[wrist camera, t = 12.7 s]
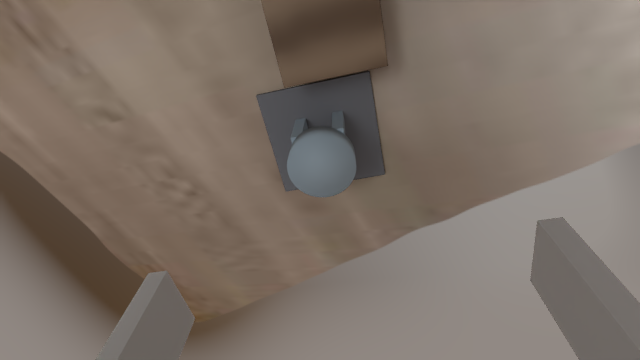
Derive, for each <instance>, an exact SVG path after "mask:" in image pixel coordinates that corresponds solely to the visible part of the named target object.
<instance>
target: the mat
mask: <svg viewBox="0 0 640 360" xmlns="http://www.w3.org/2000/svg"><path fill="white" fill-rule="evenodd" d="M256 97H257V100H258V103H259V106H260V110H261V113H262V116H263V119H264V123H265V126H266V129H267V132H268V135H269V139H270V142H271V145H272V148H273V152H274V155H275V158H276V161H277V164H278V168H279V171H280V174H281V177H282V181H283V184H284V187H285V190H286V191H291V190H297V189H298V188H297V187H296V186H295V185H294V184H293V183H292V181H291V179H290V178H289V175H288V171H287V160H288V156H289V152H290V149H291V146H292V142H291V134H292V131H293V127H294V124H295V120H298V119H303V118H306V122H307V126H308V129H309V128H312V127H317V126H327V127H332V113H333V112H338V111H343V116H344V123H345V135H346V136H347V137H348V138H349V139H350V141H351V143H352V144H353V147H354V150H355V158H356V174H355V177H354V179H353V180H355V179H361V178H367V177H373V176H379V175H384V174H385V172H384V165H383V159H382V152H381V145H380V139H379V132H378V126H377V119H376V112H375V106H374V99H373V92H372V86H371V79H370V73H369V71H366V72H362V73H357V74H352V75H347V76H343V77H338V78H333V79H329V80H324V81H319V82H315V83H310V84H305V85H301V86H296V87H291V88H287V89H282V90H277V91H273V92H268V93H263V94H258V95H256Z"/></svg>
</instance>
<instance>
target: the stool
mask: <svg viewBox="0 0 640 360" xmlns="http://www.w3.org/2000/svg"><path fill="white" fill-rule="evenodd" d="M291 142H292V146H291V149H290V152H289V156H288V160H287V171H288V175H289V178H290V179H291V181H292V183H293V184H294V185H295V186H296V187H297V188H298V189H299V190H301V191H302V192H304V193H306V194H308V195H311V196H315V197H330V196H334V195H336V194H339V193H341V192H342V191H344V190H345V189H346V188H347V187H348V186H349V185H350V184H351V182H352V181H353V179H354V177H355V174H356V158H355V150H354V147H353V144H352V143H351V141H350V139H349V138H348V137H347V136H346V135H345V123H344V116H343V111H338V112H333V113H332V127H327V126H317V127H312V128H309V129H308V126H307V122H306V118H303V119H298V120H295V124H294V127H293V131H292V134H291Z"/></svg>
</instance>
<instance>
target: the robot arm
mask: <svg viewBox="0 0 640 360" xmlns="http://www.w3.org/2000/svg"><path fill="white" fill-rule="evenodd" d="M531 282H532V284H533V285H534V287H535V289H536V290H537V292H538V293H539V295H540V297H541V298H542V300H543V302H544V303H545V305H546V306H547V308H548V310H549V311H550V313H551V314H552V316H553V318H554V320H555V321H556V323H557V325H558V326H559V328H560V329H561V331H562V332H563V334H564V336H565V338H566V339H567V341H568V342H569V344H570V346H571V347H572V349H573V351H574V352H575V354H576V355H577V357H578V359H579V360H640V303H639V302H638V301H637V299H636V298H635V297H634V296H633V295H632V294H631V293H630V292H629V291H628V290H627V288H626V287H625V286H624V285H623V284H622V283H621V282H620V281H619V279H618V278H617V277H616V276H615V275H614V274H613V273H612V272H611V270H610V269H609V268H608V267H607V266H606V265H605V264H604V263H603V262H602V260H600V258H599V257H598V256H597V255H596V254H595V253H594V252H593V250H592V249H591V248H590V247H589V246H588V245H587V244H586V243H585V242H584V240H583V239H582V238H581V237H580V236H579V235H578V234H577V233H576V232H575V230H574V229H573V228H572V227H571V226H570V225H569V224H568V223H567V222H566V221H565V219H564V218H563V217H561V218H554V219H547V220H539V221H537V228H536V237H535V245H534V254H533V262H532V271H531ZM194 320H195V317H194V316H193V314H192V312H191V311H190V309H189V307H188V306H187V304H186V302H185V300H184V299H183V297H182V295H181V294H180V292H179V290H178V289H177V287H176V285H175V284H174V282H173V280H172V279H171V277H170V275H169V273H168V272H167V271H162V272H155V273H148V275H147V277H146V278H145V280H144V281H143V283H142V285H141V286H140V288H139V290H138V291H137V293H136V295H135V296H134V298H133V299H132V301H131V303H130V304H129V306H128V308H127V310H126V311H125V313H124V314H123V316H122V317H121V319H120V321H119V322H118V324H117V326H116V327H115V329H114V330H113V332H112V334H111V335H110V337H109V339H108V340H107V342H106V343H105V345H104V347H103V349H102V350H101V352H100V353H99V355H98V357H97V358H96V360H179V357H180V355H181V352H182V350H183V347H184V345H185V342H186V340H187V337H188V334H189V332H190V329H191V327H192V325H193V322H194Z"/></svg>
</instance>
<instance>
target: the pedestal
mask: <svg viewBox="0 0 640 360" xmlns="http://www.w3.org/2000/svg"><path fill="white" fill-rule="evenodd" d="M261 2H262V6H263V10H264V14H265V17H266V21H267V25H268V28H269V32H270V36H271V40H272V43H273V47H274V51H275V55H276V58H277V62H278V66H279V69H280V73H281V77H282V81H283V84H284V88H286V87H291V86H295V85H300V84H305V83H309V82H314V81H319V80H323V79H328V78H333V77H337V76H342V75H347V74H351V73H356V72H361V71H365V70H370V69H375V68H379V67H384V66H388V62H387V54H386V46H385V38H384V30H383V22H382V14H381V6H380V0H261Z"/></svg>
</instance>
